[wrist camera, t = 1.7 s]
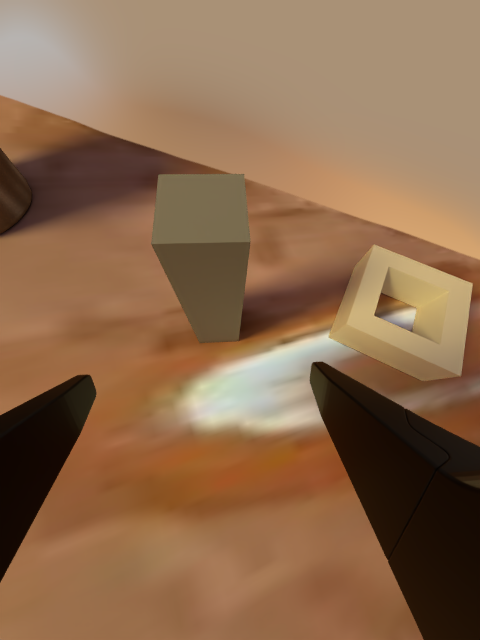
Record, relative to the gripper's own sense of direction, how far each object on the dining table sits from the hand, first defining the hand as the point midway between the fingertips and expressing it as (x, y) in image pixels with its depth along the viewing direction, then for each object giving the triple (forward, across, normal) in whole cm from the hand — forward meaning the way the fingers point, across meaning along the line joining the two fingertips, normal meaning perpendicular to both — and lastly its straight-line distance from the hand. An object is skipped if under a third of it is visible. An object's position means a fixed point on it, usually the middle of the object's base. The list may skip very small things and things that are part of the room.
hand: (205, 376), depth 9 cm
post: (+14, 0, +4) cm, 15 cm away
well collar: (+14, -18, +4) cm, 24 cm away
